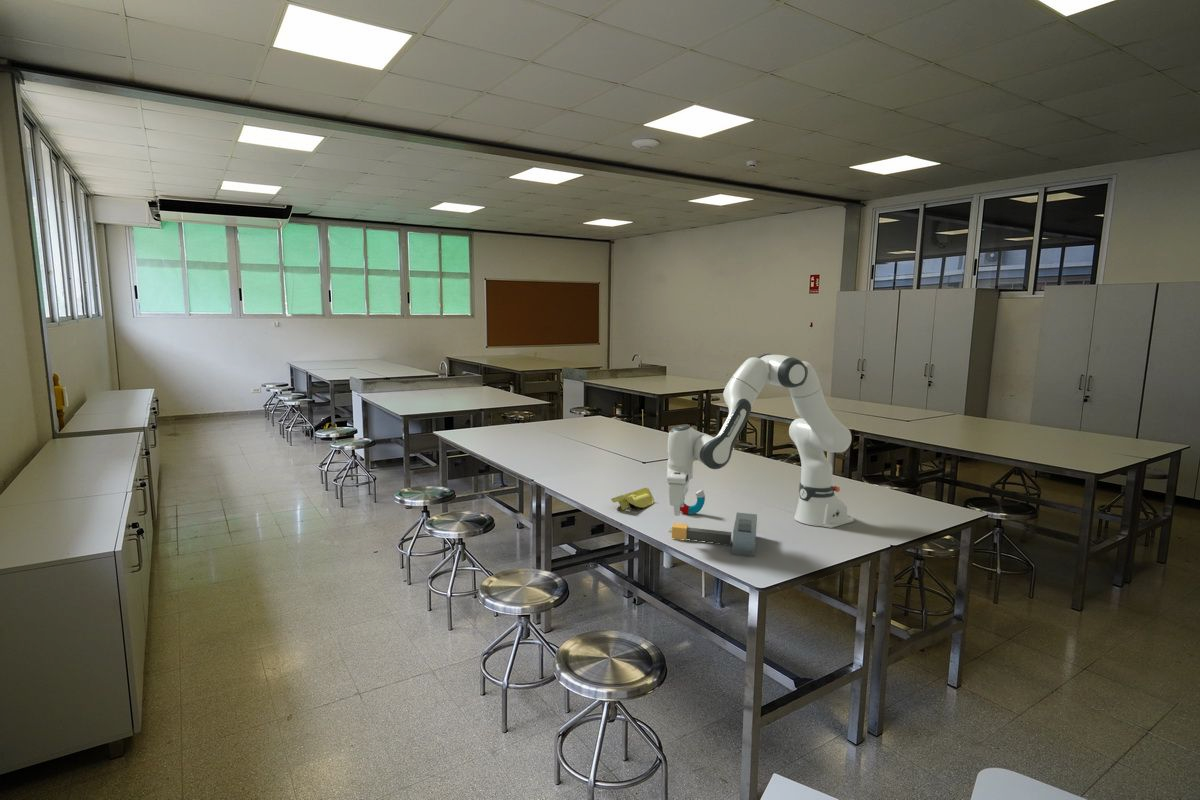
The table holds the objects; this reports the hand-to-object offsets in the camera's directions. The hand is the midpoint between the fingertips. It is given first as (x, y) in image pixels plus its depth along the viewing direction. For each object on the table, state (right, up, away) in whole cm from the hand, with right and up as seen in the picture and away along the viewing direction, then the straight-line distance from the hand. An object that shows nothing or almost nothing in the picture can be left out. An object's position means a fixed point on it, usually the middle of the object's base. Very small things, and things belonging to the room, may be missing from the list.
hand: (679, 510), depth 210 cm
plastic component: (-15, -5, +36) cm, 40 cm away
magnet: (+7, -6, +28) cm, 29 cm away
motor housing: (+21, -11, -5) cm, 25 cm away
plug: (+7, -10, -1) cm, 12 cm away
